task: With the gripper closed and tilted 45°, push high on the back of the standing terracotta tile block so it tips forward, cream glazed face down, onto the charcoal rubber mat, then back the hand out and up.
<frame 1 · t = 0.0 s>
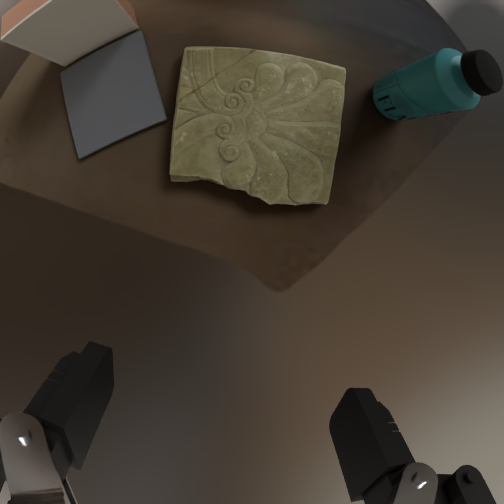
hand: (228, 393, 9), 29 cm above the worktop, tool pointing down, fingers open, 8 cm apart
decorative tile: (256, 125, 34), on the worktop
terracotta tile: (97, 36, 28), on the worktop
beverage bottle: (386, 100, 33), on the worktop
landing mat: (109, 92, 31), on the worktop
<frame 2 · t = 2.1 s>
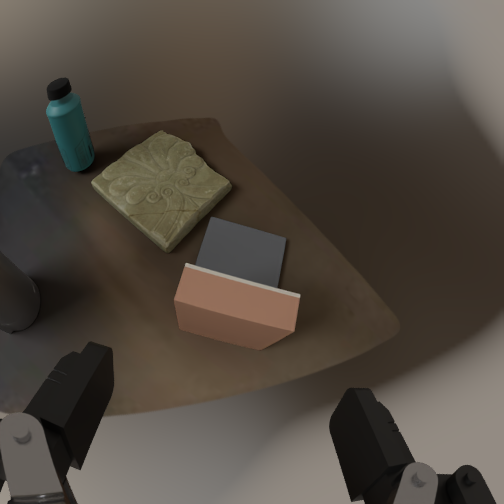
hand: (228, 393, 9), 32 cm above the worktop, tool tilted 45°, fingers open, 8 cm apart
decorative tile: (163, 188, 51), on the worktop
terracotta tile: (223, 327, 42), on the worktop
beverage bottle: (82, 165, 49), on the worktop
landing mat: (238, 266, 46), on the worktop
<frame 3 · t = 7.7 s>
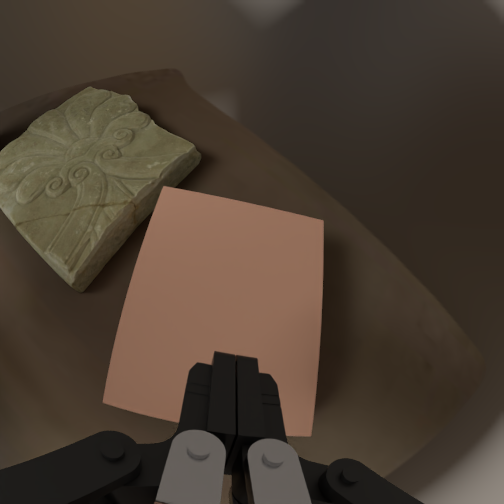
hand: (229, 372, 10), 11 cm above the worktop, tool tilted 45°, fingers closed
decorative tile: (84, 171, 26), on the worktop
terracotta tile: (206, 423, 16), point 3 cm above the worktop, tilted 90°, touching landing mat
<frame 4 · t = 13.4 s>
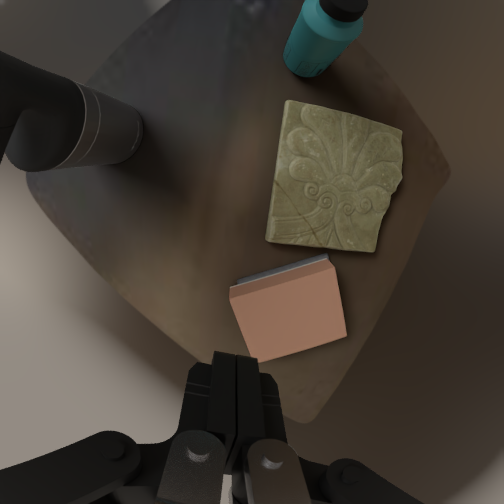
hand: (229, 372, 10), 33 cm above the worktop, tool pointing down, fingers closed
decorative tile: (335, 179, 41), on the worktop
terracotta tile: (242, 326, 44), point 3 cm above the worktop, tilted 90°, touching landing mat
beverage bottle: (302, 61, 35), on the worktop
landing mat: (292, 303, 46), on the worktop
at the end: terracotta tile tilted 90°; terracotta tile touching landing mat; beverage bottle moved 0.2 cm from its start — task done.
